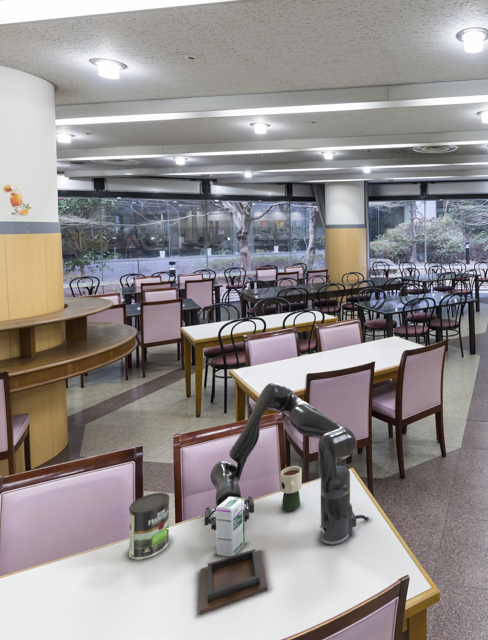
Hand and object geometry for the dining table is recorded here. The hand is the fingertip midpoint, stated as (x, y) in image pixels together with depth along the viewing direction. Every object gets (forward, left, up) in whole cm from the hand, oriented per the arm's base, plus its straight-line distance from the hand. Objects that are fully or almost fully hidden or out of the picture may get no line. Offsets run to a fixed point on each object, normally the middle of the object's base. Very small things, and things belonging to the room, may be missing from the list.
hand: (230, 523), depth 132 cm
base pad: (0, +14, -8) cm, 16 cm away
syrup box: (0, 0, -8) cm, 8 cm away
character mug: (-20, -13, -8) cm, 25 cm away
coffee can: (+22, -13, -8) cm, 27 cm away
